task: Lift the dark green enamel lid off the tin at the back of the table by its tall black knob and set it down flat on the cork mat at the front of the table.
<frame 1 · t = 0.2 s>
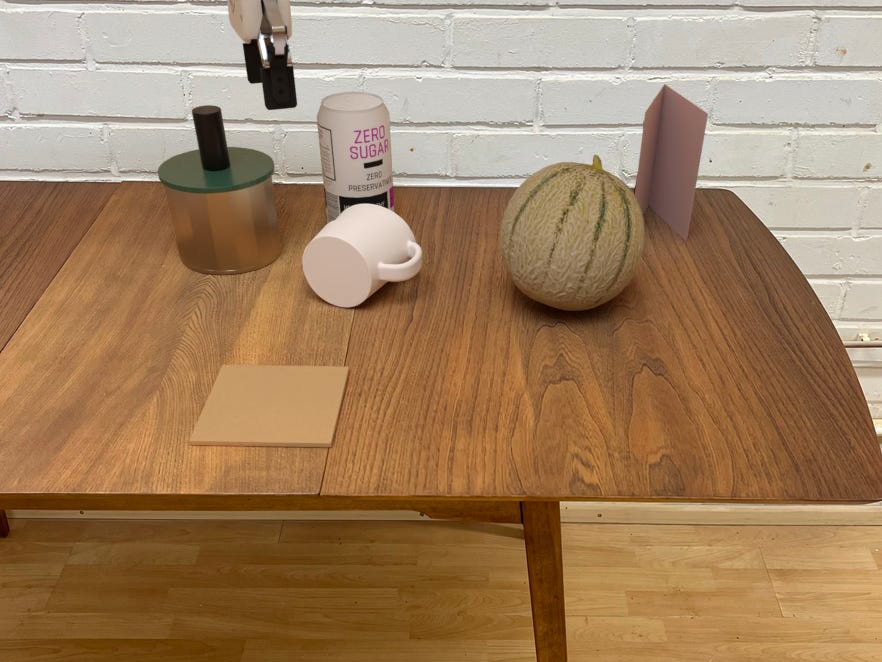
hand: (272, 94, 94), 17 cm above the table, tool pointing down, fingers open, 9 cm apart
cantaloupe: (566, 303, 95), on the table
cork mat: (274, 405, 80), on the table
tin: (231, 252, 104), on the table
mug: (369, 291, 97), on the table
greeting card: (661, 227, 111), on the table
tin lid: (217, 171, 98), point 9 cm above the table, touching tin
supplement can: (362, 229, 109), on the table
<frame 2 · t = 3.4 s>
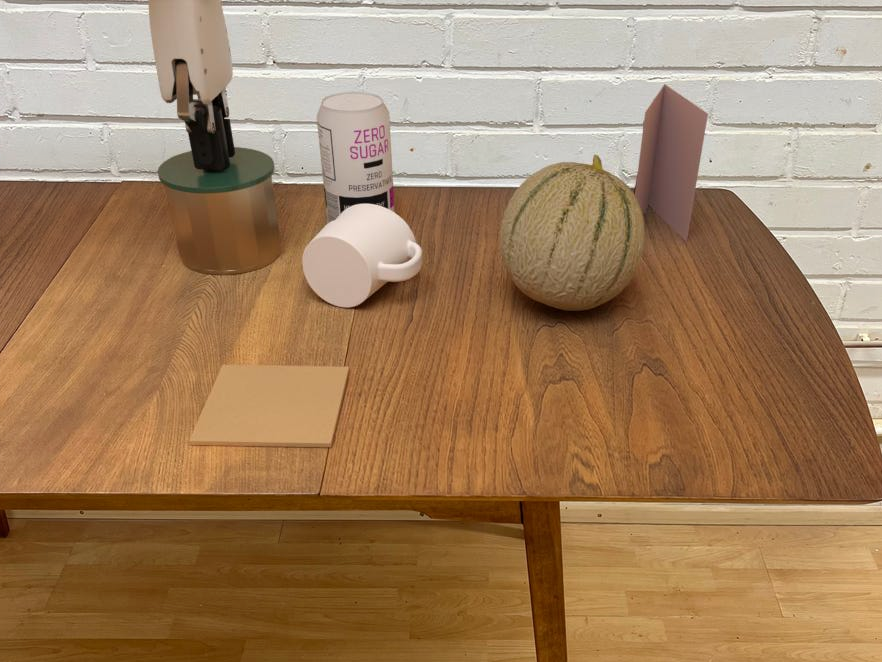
hand: (215, 160, 97), 11 cm above the table, tool pointing down, fingers closed on tin lid, 3 cm apart
tin lid: (217, 171, 98), point 10 cm above the table, touching gripper, tin
everything else where it was.
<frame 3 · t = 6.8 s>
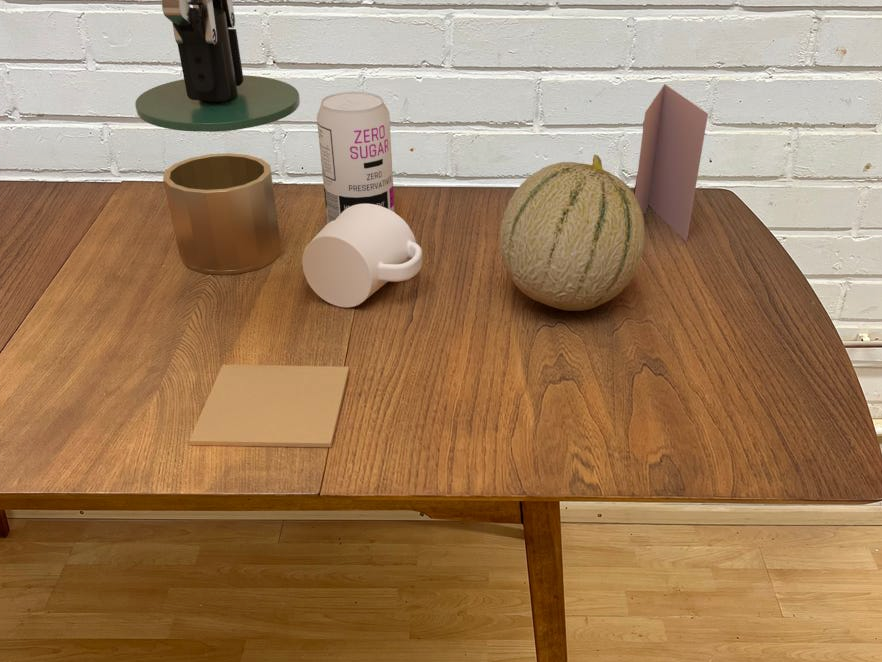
hand: (216, 89, 69), 25 cm above the table, tool pointing down, fingers closed on tin lid, 3 cm apart
tin lid: (219, 105, 70), point 24 cm above the table, touching gripper
everything else where it was.
when the fingers open (2 cm above the table, at t = 10.6 s): tin lid stays where it is, resting on cork mat.
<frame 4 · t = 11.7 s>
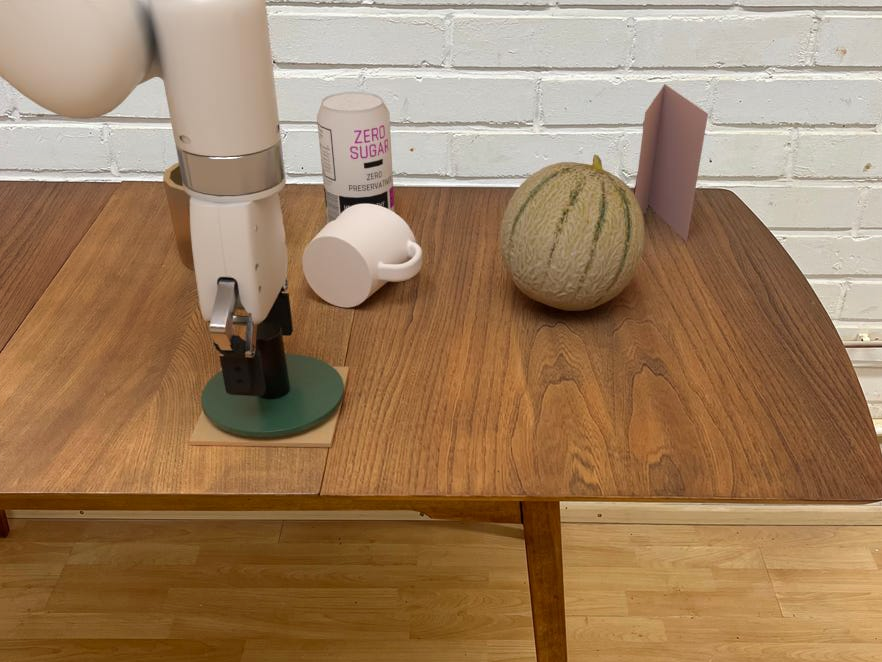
hand: (261, 362, 77), 5 cm above the table, tool pointing down, fingers open, 9 cm apart
tin lid: (274, 395, 79), point 1 cm above the table, touching cork mat
everything else where it was.
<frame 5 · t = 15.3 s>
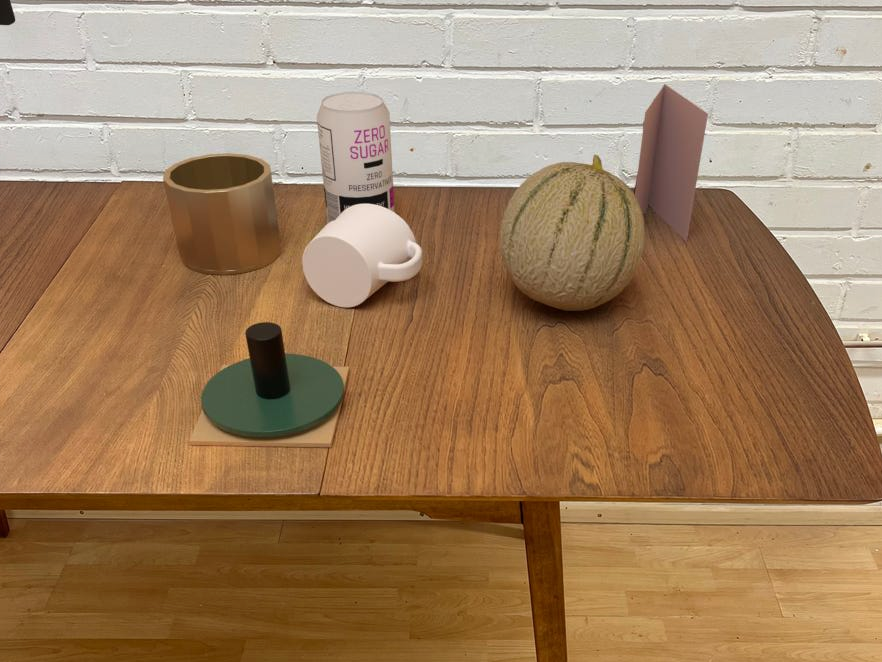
hand: (24, 8, 67), 30 cm above the table, tool pointing down, fingers open, 9 cm apart
nothing on the table moved.
at the end: tin lid inside the target area on the cork mat (0.1 cm from its centre), point 1.1 cm above the cork mat's base; tin lid tilted 0°; tin lid touching cork mat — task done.
